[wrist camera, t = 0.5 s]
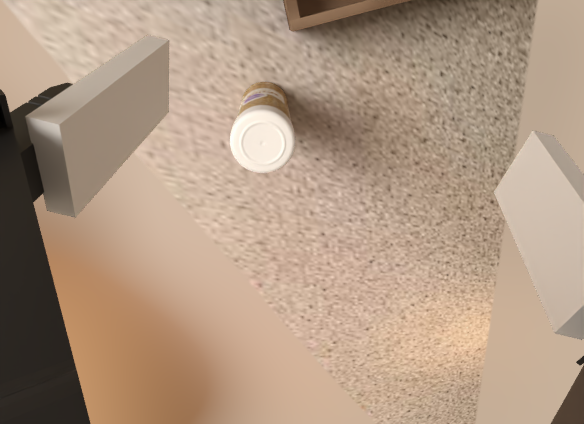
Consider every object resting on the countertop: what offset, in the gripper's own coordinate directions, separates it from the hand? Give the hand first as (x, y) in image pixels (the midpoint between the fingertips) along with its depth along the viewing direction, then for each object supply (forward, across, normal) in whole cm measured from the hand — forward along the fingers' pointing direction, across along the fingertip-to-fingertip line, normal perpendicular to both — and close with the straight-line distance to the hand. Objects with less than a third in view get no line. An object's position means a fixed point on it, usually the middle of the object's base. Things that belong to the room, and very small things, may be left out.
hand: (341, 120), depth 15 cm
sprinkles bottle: (+24, -6, -11) cm, 27 cm away
